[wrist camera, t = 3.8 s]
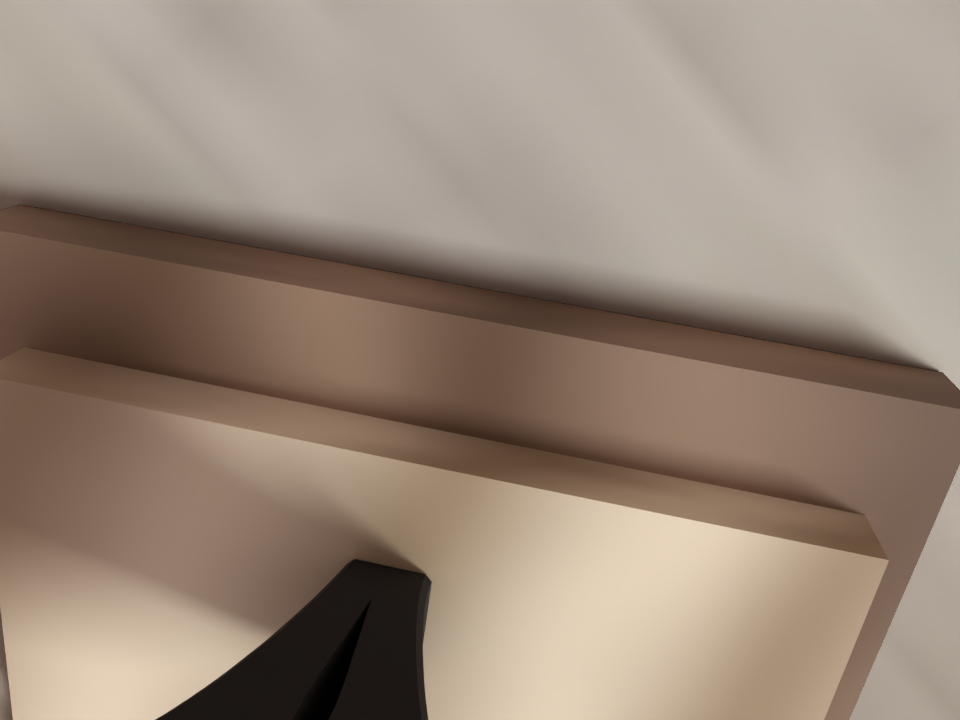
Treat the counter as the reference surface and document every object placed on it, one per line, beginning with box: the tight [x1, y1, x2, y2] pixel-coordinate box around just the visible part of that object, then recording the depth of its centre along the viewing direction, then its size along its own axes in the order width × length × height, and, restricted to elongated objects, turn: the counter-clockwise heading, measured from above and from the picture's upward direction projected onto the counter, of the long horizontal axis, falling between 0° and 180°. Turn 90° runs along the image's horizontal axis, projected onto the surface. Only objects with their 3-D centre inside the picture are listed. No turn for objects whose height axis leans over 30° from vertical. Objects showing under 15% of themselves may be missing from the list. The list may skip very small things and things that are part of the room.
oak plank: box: [0, 348, 889, 720], centre depth 14 cm, size 14×10×1 cm
